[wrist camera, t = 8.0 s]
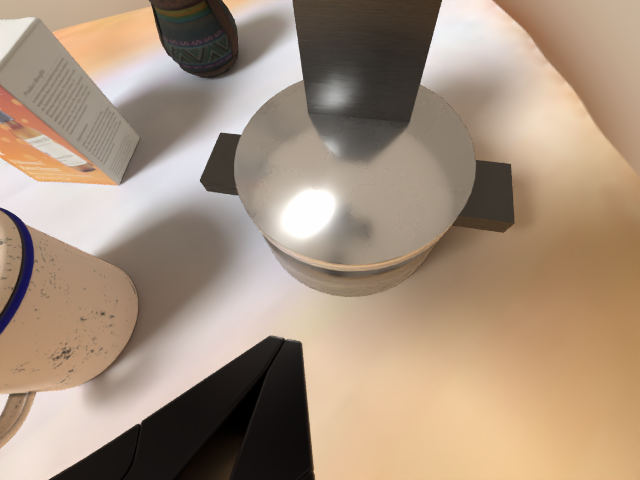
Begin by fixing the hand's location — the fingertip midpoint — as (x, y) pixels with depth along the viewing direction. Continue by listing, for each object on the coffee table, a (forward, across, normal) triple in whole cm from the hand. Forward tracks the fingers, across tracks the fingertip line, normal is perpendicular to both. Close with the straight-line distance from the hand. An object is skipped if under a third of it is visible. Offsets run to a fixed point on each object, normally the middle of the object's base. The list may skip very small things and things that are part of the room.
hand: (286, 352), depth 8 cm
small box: (+18, +24, -1) cm, 30 cm away
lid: (+12, 0, -4) cm, 13 cm away
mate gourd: (+27, +17, -10) cm, 34 cm away
